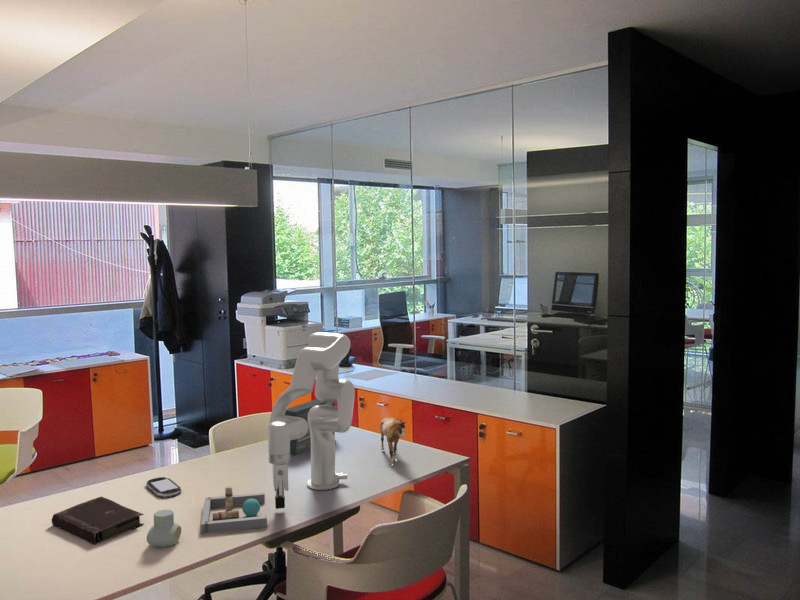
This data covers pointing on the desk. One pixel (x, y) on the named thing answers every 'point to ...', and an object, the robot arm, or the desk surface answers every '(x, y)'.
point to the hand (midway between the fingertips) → (280, 507)
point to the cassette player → (302, 411)
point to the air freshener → (164, 530)
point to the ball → (251, 507)
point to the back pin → (229, 498)
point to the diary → (97, 519)
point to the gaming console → (163, 487)
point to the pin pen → (231, 523)
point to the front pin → (225, 515)
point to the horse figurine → (392, 433)
